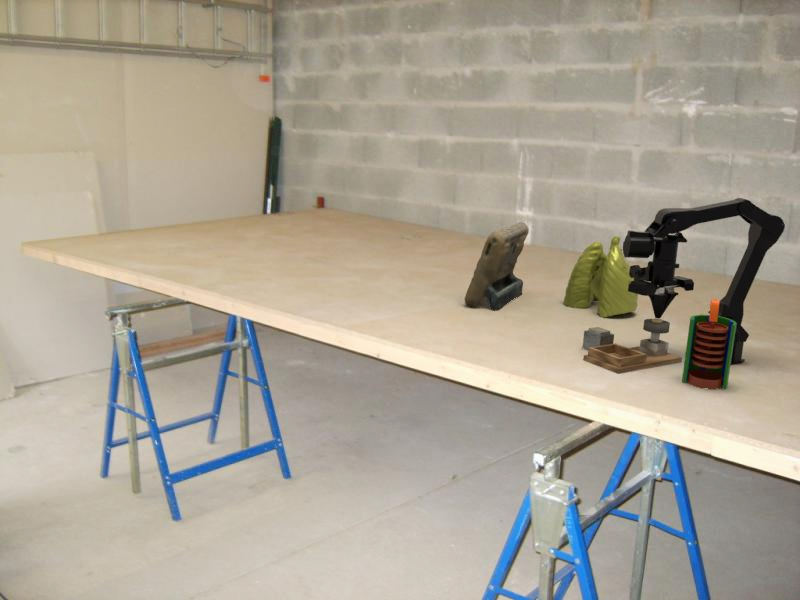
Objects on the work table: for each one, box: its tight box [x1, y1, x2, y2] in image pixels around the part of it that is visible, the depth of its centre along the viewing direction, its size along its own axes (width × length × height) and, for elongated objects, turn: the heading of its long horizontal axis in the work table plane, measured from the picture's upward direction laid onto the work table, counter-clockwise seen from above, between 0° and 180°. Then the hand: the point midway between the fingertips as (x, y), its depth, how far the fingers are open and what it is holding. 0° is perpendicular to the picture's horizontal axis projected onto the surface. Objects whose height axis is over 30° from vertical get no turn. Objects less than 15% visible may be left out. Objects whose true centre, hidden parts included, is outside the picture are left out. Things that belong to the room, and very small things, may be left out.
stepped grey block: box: [582, 326, 615, 351], centre depth 217 cm, size 6×5×6 cm
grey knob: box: [642, 317, 671, 343], centre depth 212 cm, size 6×6×6 cm
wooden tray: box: [582, 337, 683, 375], centre depth 209 cm, size 12×23×4 cm, turn 122°
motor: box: [681, 298, 737, 390], centre depth 192 cm, size 10×9×20 cm
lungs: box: [563, 235, 639, 318], centre depth 262 cm, size 25×16×24 cm, turn 32°
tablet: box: [464, 221, 530, 311], centre depth 268 cm, size 33×14×25 cm, turn 161°
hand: (657, 318), depth 211 cm, fingers closed
